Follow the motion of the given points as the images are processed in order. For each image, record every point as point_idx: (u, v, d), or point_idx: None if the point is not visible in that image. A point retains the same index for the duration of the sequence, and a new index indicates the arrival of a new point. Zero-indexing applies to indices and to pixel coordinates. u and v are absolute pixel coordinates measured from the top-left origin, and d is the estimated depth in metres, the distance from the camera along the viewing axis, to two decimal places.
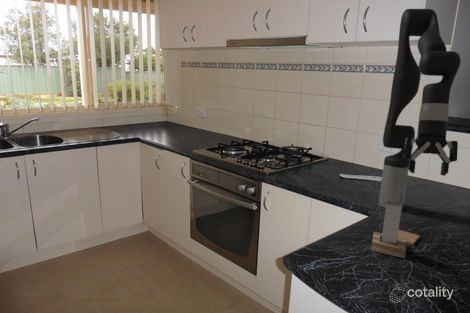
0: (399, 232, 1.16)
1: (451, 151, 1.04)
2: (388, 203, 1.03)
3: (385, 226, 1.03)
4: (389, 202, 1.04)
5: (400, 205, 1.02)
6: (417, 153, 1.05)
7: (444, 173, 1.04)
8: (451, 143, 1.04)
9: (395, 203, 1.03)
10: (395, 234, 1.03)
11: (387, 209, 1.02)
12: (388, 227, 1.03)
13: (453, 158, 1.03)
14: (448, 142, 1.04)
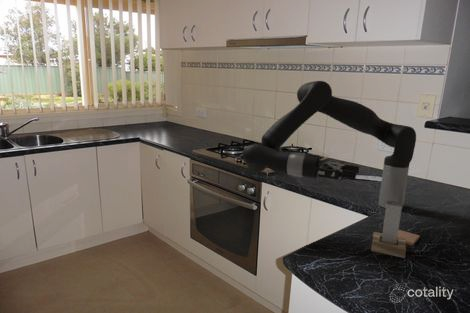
0: (399, 232, 1.16)
1: None
2: (388, 203, 1.03)
3: (385, 226, 1.03)
4: (389, 202, 1.04)
5: (400, 205, 1.02)
6: None
7: None
8: None
9: (395, 203, 1.03)
10: (395, 234, 1.02)
11: (387, 209, 1.02)
12: (388, 227, 1.03)
13: None
14: None
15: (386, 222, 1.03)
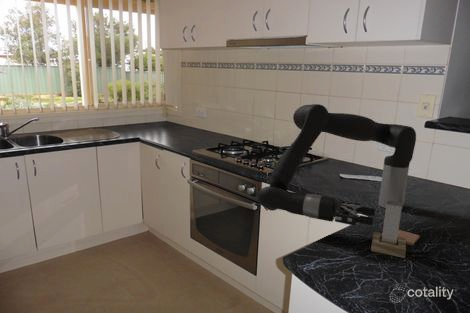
0: (399, 232, 1.16)
1: None
2: (388, 203, 1.03)
3: (385, 226, 1.03)
4: (389, 202, 1.04)
5: (400, 205, 1.02)
6: None
7: None
8: None
9: (395, 203, 1.03)
10: (395, 234, 1.02)
11: (387, 209, 1.02)
12: (388, 227, 1.03)
13: None
14: None
15: (386, 222, 1.03)
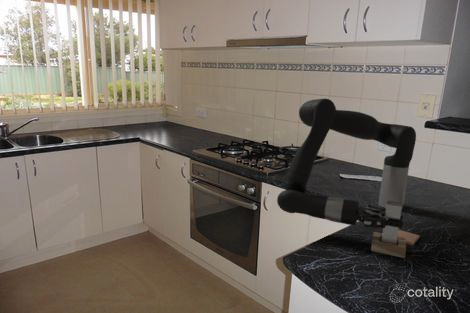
0: (399, 232, 1.16)
1: None
2: (388, 203, 1.03)
3: (385, 226, 1.03)
4: (389, 202, 1.04)
5: (400, 205, 1.02)
6: None
7: None
8: None
9: (395, 203, 1.03)
10: (395, 234, 1.03)
11: (387, 209, 1.02)
12: (388, 227, 1.03)
13: None
14: None
15: None
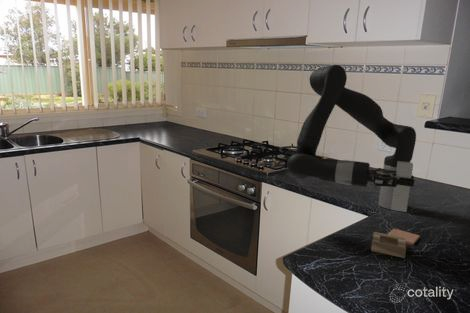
0: (399, 232, 1.16)
1: None
2: (399, 163, 1.03)
3: (396, 186, 1.03)
4: (400, 162, 1.04)
5: (411, 164, 1.02)
6: None
7: None
8: None
9: (406, 163, 1.03)
10: (406, 194, 1.02)
11: (398, 168, 1.02)
12: (399, 187, 1.03)
13: None
14: None
15: None
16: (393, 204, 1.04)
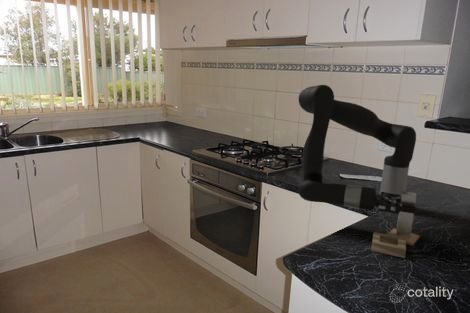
0: None
1: None
2: (403, 193, 1.11)
3: (400, 214, 1.11)
4: (404, 192, 1.12)
5: (415, 195, 1.10)
6: None
7: None
8: None
9: (410, 193, 1.11)
10: (410, 222, 1.10)
11: (402, 198, 1.10)
12: (403, 215, 1.11)
13: None
14: None
15: None
16: (397, 231, 1.12)
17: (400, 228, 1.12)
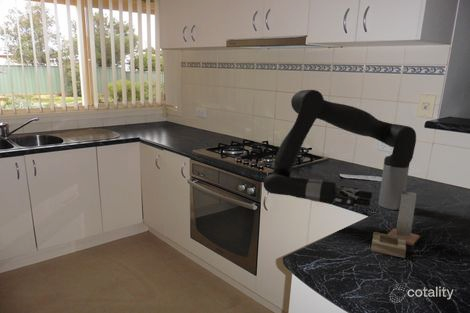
0: None
1: None
2: (403, 193, 1.11)
3: (400, 214, 1.11)
4: (404, 192, 1.12)
5: (415, 195, 1.10)
6: None
7: None
8: None
9: (410, 193, 1.11)
10: (410, 222, 1.10)
11: (402, 198, 1.10)
12: (403, 215, 1.11)
13: None
14: None
15: (401, 211, 1.11)
16: (397, 231, 1.12)
17: (400, 228, 1.12)
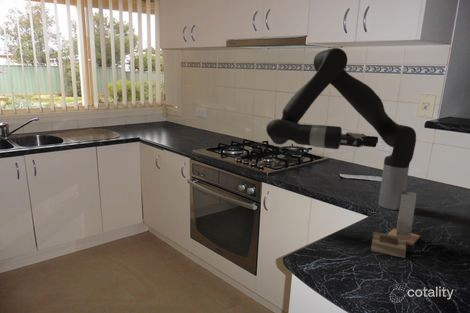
0: None
1: None
2: (403, 193, 1.11)
3: (400, 214, 1.11)
4: (404, 192, 1.12)
5: (415, 195, 1.10)
6: None
7: (373, 146, 1.09)
8: None
9: (410, 193, 1.11)
10: (410, 222, 1.10)
11: (402, 198, 1.10)
12: (403, 215, 1.11)
13: None
14: None
15: (401, 211, 1.11)
16: (397, 231, 1.12)
17: (400, 228, 1.12)
